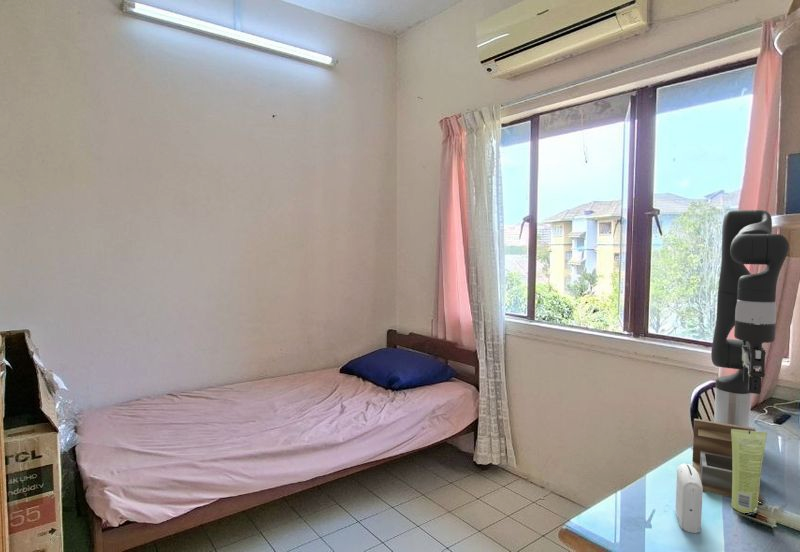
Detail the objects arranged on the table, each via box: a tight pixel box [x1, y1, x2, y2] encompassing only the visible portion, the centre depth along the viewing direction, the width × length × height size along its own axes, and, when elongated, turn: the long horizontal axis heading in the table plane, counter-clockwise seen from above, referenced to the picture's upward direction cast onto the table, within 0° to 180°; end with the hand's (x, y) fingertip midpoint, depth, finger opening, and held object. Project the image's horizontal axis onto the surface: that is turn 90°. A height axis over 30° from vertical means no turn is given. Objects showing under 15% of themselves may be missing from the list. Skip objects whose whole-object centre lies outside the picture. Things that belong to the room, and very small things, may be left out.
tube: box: [731, 429, 768, 514], centre depth 109 cm, size 6×5×20 cm
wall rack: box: [692, 418, 764, 504], centre depth 122 cm, size 17×14×13 cm
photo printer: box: [675, 463, 703, 534], centre depth 105 cm, size 10×4×12 cm, turn 156°
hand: (751, 388), depth 107 cm, fingers open, 8 cm apart
